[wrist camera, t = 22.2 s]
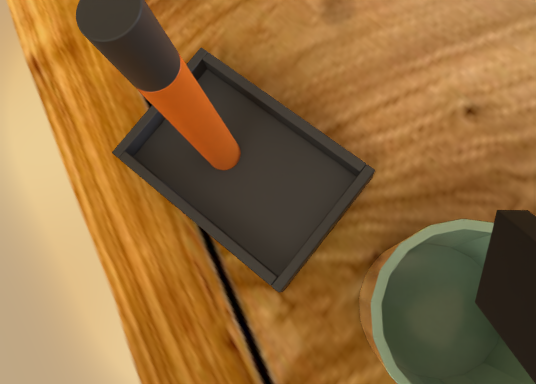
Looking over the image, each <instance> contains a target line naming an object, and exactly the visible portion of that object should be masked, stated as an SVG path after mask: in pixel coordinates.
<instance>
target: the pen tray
mask: <svg viewBox="0 0 536 384" xmlns="http://www.w3.org/2000/svg"><path fill="white" fill-rule="evenodd" d="M187 67H188V68H189V70H190V71H191V73H192V74H193V76H194V78H195V79H196V81H197V82H198V84H199V85H200V87H201V88H202V90H203V91H204V93H205V94H206V96H207V98H208V99H209V101H210V102H211V104H212V105H213V107H214V108H215V110H216V111H217V113H218V115H219V116H220V118H221V119H222V121H223V122H224V124H225V125H226V127H227V128H228V130H229V131H230V133H231V135H232V136H233V138H234V139H235V141H236V142H237V144H238V145H239V147H240V151H241V155H240V159H239V161H238V163H237V164H236V165H235V166H234V167H233V168H231V169H228V170H219V169H216V168H214V167H213V166H212V165H211V164H210V163H209V162H208V161H207V160H206V159H205V158H204V157H203V156H202V155H201V154H200V153H199V152H198V151H197V150H196V149H195V148H194V147H193V146H192V145H191V144H190V143H189V141H188V140H187V139H186V138H185V137H184V136H183V135H182V134H181V133H180V132H179V131H178V130H177V129H176V128H175V127H174V126H173V125H172V124H171V123H170V122H169V121H168V120H167V119H166V118H165V117H164V116H163V115H162V114H161V113H160V112H159V111H158V110H157V109H156V108H155V107H154V106H153V105H152V106H151V107H150V108H149V109H148V111H147V112H146V113H145V114H144V115H143V116H142V118H141V119H140V120H139V121H138V122H137V124H136V125H135V126H134V127H133V128H132V129H131V131H130V132H129V133H128V134H127V135H126V137H125V138H124V139H123V140H122V141H121V142H120V144H119V145H118V146H117V147H116V148H115V150H114V151H113V152H112V153H113V154H114V155H115V156H116V157H118V158H119V159H120V160H121V161H122V162H124V163H125V164H126V165H127V166H128V167H130V168H131V169H132V170H133V171H134V172H136V173H137V174H138V175H139V176H140V177H142V178H143V179H144V180H145V181H146V182H147V183H149V184H150V185H151V186H152V187H153V188H155V189H156V190H157V191H158V192H159V193H161V194H162V195H163V196H164V197H165V198H167V199H168V200H169V201H170V202H171V203H173V204H174V205H175V206H176V207H177V208H179V209H180V210H181V211H182V212H183V213H184V214H186V215H187V216H188V217H189V218H190V219H192V220H193V221H194V222H195V223H196V224H198V225H199V226H200V227H201V228H202V229H204V230H205V231H206V232H207V233H208V234H210V235H211V236H212V237H213V238H214V239H216V240H217V241H218V242H219V243H220V244H221V245H223V246H224V247H225V248H226V249H227V250H229V251H230V252H231V253H232V254H233V255H235V256H236V257H237V258H238V259H239V260H241V261H242V262H243V263H244V264H245V265H247V266H248V267H249V268H250V269H251V270H253V271H254V272H255V273H256V274H257V275H258V276H260V277H261V278H262V279H263V280H264V281H266V282H267V283H268V284H269V285H272V287H273V288H274V289H275V290H276V291H278V292H283V291H284V290H285V289H286V287H287V286H288V285H289V284H290V282H291V281H292V280H293V278H294V277H295V276H296V275H297V273H298V272H299V271H300V269H301V268H302V267H303V266H304V264H305V263H306V262H307V261H308V259H309V258H310V257H311V255H312V254H313V253H314V252H315V250H316V249H317V248H318V246H319V245H320V244H321V243H322V241H323V240H324V239H325V237H326V236H327V235H328V234H329V232H330V231H331V230H332V229H333V227H334V226H335V225H336V223H337V222H338V221H339V220H340V218H341V217H342V216H343V214H344V213H345V212H346V211H347V209H348V208H349V207H350V206H351V204H352V203H353V202H354V200H355V199H356V198H357V197H358V195H359V194H360V193H361V191H362V190H363V189H364V188H365V186H366V185H367V184H368V183H369V181H370V180H371V179H372V177H373V174H374V172H375V170H374V169H373V168H371V167H370V166H369V165H366V163H365V162H363V161H362V160H360V159H359V158H357V157H356V156H355V155H353V154H352V153H350V152H349V151H347V150H346V149H345V148H343V147H342V146H340V145H339V144H338V143H336V142H335V141H333V140H332V139H330V138H329V137H328V136H326V135H325V134H323V133H322V132H321V131H319V130H318V129H316V128H315V127H313V126H312V125H311V124H309V123H308V122H306V121H305V120H304V119H302V118H301V117H299V116H298V115H296V114H295V113H294V112H292V111H291V110H289V109H288V108H286V107H285V106H284V105H282V104H281V103H279V102H278V101H277V100H275V99H274V98H272V97H271V96H269V95H268V94H267V93H265V92H264V91H262V90H261V89H260V88H258V87H257V86H255V85H254V84H252V83H251V82H250V81H248V80H247V79H245V78H244V77H243V76H241V75H240V74H238V73H237V72H235V71H234V70H233V69H231V68H230V67H228V66H227V65H225V64H224V63H223V62H221V61H220V60H218V59H217V58H216V57H214V56H213V55H211V54H210V53H208V52H207V51H206V50H204V49H203V48H200V49H199V50H198V52H197V53H196V54H195V55H194V56H193V58H192V59H191V60H190V61H189V62H188V63H187Z"/></svg>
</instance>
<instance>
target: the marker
mask: <svg viewBox="0 0 536 384" xmlns="http://www.w3.org/2000/svg"><path fill="white" fill-rule="evenodd" d="M76 21H77V24H78V27H79V29H80V31H81V32H82V33H83V35H84V36H85V37H86V38H87V39H88V40H89V41H90V42H91V43H92V44H93V45H94V46H95V47H96V48H97V49H98V50H99V51H100V52H101V53H102V54H103V55H104V56H105V57H106V58H107V59H108V60H109V61H110V62H111V63H112V64H113V65H114V66H115V67H116V68H117V69H118V70H119V71H120V72H121V73H122V74H123V75H124V76H125V77H126V78H127V79H128V80H129V81H130V82H131V83H132V84H133V85H134V86H135V88H136V89H137V90H138V91H139V92H140V93H141V94H142V95H143V96H144V97H145V98H146V99H147V100H148V101H149V102H150V103H151V104H152V105H153V106H154V107H155V108H156V109H157V110H158V111H159V112H160V113H161V114H162V115H163V116H164V117H165V118H166V119H167V120H168V121H169V122H170V123H171V124H172V125H173V126H174V127H175V128H176V129H177V130H178V131H179V132H180V133H181V134H182V135H183V136H184V137H185V138H186V139H187V140H188V141H189V143H190V144H191V145H192V146H193V147H194V148H195V149H196V150H197V151H198V152H199V153H200V154H201V155H202V156H203V157H204V158H205V159H206V160H207V161H208V162H209V163H210V164H211V165H212V166H213V167H214V168H216V169H219V170H228V169H231V168H233V167H234V166H235V165H236V164H237V163H238V161H239V159H240V155H241V151H240V147H239V145H238V144H237V142H236V141H235V139H234V138H233V136H232V135H231V133H230V131H229V130H228V128H227V127H226V125H225V124H224V122H223V121H222V119H221V118H220V116H219V115H218V113H217V111H216V110H215V108H214V107H213V105H212V104H211V102H210V101H209V99H208V98H207V96H206V94H205V93H204V91H203V90H202V88H201V87H200V85H199V84H198V82H197V81H196V79H195V78H194V76H193V74H192V73H191V71H190V70H189V68H188V67H187V65H186V64H185V62H184V61H183V59H182V57H181V56H180V54H179V53H178V51H177V50H176V48H175V47H174V45H173V44H172V42H171V41H170V39H169V37H168V36H167V34H166V33H165V31H164V30H163V28H162V27H161V25H160V24H159V22H158V20H157V19H156V17H155V16H154V14H153V13H152V11H151V10H150V8H149V7H148V5H147V4H146V2H145V0H80V1H79V4H78V6H77V10H76Z"/></svg>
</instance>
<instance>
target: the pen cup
mask: <svg viewBox="0 0 536 384" xmlns="http://www.w3.org/2000/svg"><path fill="white" fill-rule="evenodd" d="M493 225H494V223H493V222H486V221H478V220H470V219H458V220H453V221H448V222H443V223H438V224H433V225H429V226H427V227H425V228H423V229H422V230H420V231H418V232H417V233H415V234H413V235H411V236H410V237H408V238H406V239H405V240H403V241H401V242H400V243H398V244H396V245H395V246H393V247H391V248H390V249H388V250H387V251H385V252H383V253H382V254H381V255H380V256H379V257H378V258H377V259H376V261H375V262H374V263H373V264H372V266H371V267H370V269H369V270H368V272H367V274H366V276H365V278H364V281H363V284H362V287H361V291H360V295H359V312H360V322H361V325H362V328H363V330H364V333H365V335H366V338H367V340H368V342H369V344H370V347H371V348H372V350H373V351H374V353H375V354H376V356H377V357H378V359H379V360H380V362H381V363H382V365H383V366H384V368H385V369H386V371H387V372H388V374H389V375H390V376H391V377H392V378H393V380H394V381H395V382H396V383H397V384H535V383H534V381H533V380H532V379H531V377H530V376H529V375H528V373H527V372H526V370H525V369H524V368H523V366H522V365H521V364H520V362H519V361H518V360H517V358H516V357H515V356H514V354H513V353H512V352H511V350H510V349H509V348H508V346H507V345H506V344H505V342H504V341H503V340H502V338H501V337H500V335H499V334H498V333H497V331H496V330H495V329H494V327H493V326H492V325H491V323H490V322H489V321H488V319H487V318H486V317H485V315H484V314H483V313H482V311H481V310H480V309H479V307H478V306H477V305H476V303H475V299H476V295H477V291H478V287H479V283H480V279H481V274H482V270H483V266H484V262H485V258H486V254H487V250H488V246H489V242H490V237H491V233H492V229H493Z"/></svg>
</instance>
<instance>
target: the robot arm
mask: <svg viewBox="0 0 536 384" xmlns="http://www.w3.org/2000/svg"><path fill="white" fill-rule="evenodd" d="M475 303H476V305H477V306H478V307H479V309H480V310H481V311H482V313H483V314H484V315H485V317H486V318H487V319H488V321H489V322H490V323H491V325H492V326H493V327H494V329H495V330H496V331H497V333H498V334H499V335H500V337H501V338H502V340H503V341H504V342H505V344H506V345H507V346H508V348H509V349H510V350H511V352H512V353H513V354H514V356H515V357H516V358H517V360H518V361H519V362H520V364H521V365H522V366H523V368H524V369H525V370H526V372H527V373H528V375H529V376H530V377H531V379H532V380H533V381H534V383H535V384H536V216H534V215H533V214H532V213H530V212H529V211H528V210H497V213H496V217H495V221H494V225H493V229H492V233H491V237H490V242H489V246H488V250H487V254H486V258H485V262H484V266H483V270H482V274H481V279H480V283H479V287H478V291H477V295H476V299H475Z"/></svg>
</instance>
